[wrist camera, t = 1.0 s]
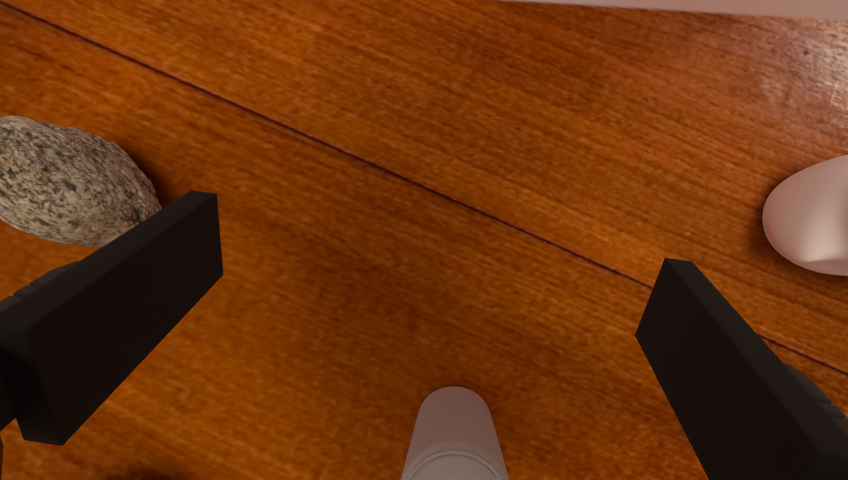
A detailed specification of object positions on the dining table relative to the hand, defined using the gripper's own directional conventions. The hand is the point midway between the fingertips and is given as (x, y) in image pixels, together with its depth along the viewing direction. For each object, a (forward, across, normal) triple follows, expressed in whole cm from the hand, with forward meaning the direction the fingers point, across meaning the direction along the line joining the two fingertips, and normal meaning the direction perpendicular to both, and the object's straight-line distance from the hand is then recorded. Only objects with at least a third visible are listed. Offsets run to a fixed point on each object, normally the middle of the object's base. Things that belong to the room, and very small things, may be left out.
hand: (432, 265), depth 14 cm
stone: (+18, -22, -8) cm, 30 cm away
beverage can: (+11, +3, -17) cm, 20 cm away
